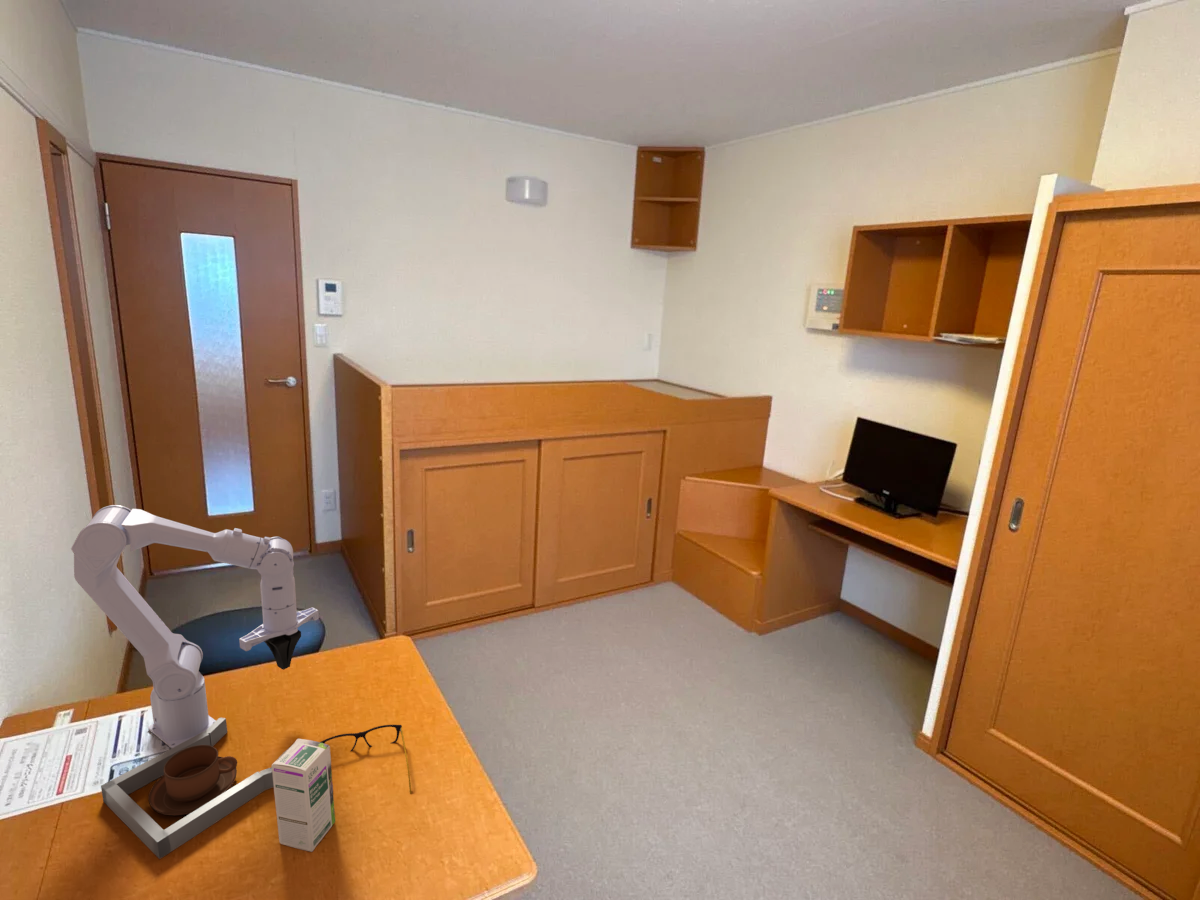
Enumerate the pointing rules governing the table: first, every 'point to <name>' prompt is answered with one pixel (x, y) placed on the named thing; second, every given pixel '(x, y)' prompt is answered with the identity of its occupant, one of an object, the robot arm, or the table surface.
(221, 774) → the cup and saucer
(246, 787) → the bent grey bar frame
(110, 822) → the table surface
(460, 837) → the table surface
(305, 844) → the syrup box
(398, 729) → the eyeglasses
